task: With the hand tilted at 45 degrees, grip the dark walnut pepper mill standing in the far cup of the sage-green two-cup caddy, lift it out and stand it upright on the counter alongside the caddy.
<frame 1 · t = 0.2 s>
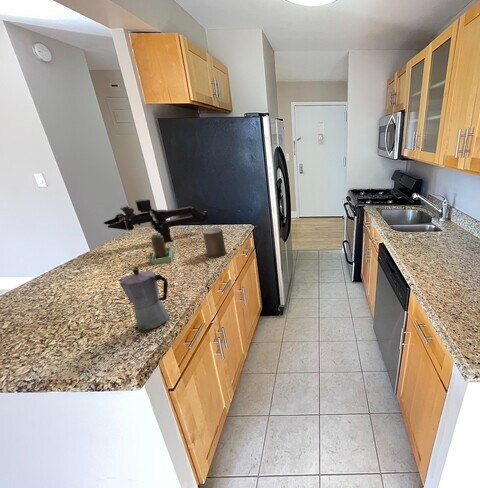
hand: (105, 224, 136), 17 cm above the countertop, tool horizontal, fingers open, 9 cm apart
pepper mill: (162, 259, 134), point 1 cm above the countertop, touching caddy
moka pot: (155, 322, 89), on the countertop
pillar candle: (216, 254, 142), on the countertop
caddy: (163, 257, 137), on the countertop
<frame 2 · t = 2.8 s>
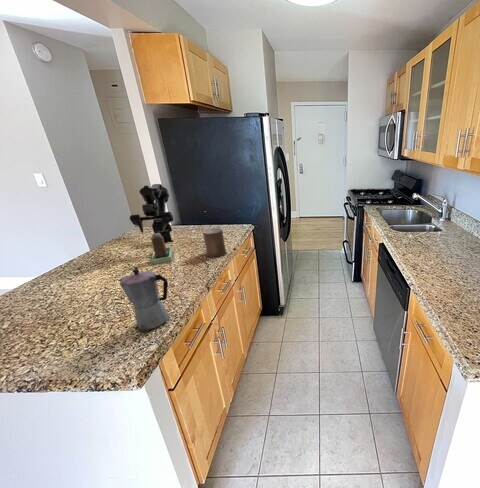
hand: (152, 231, 135), 14 cm above the countertop, tool tilted 50°, fingers open, 9 cm apart
nothing on the countertop moved.
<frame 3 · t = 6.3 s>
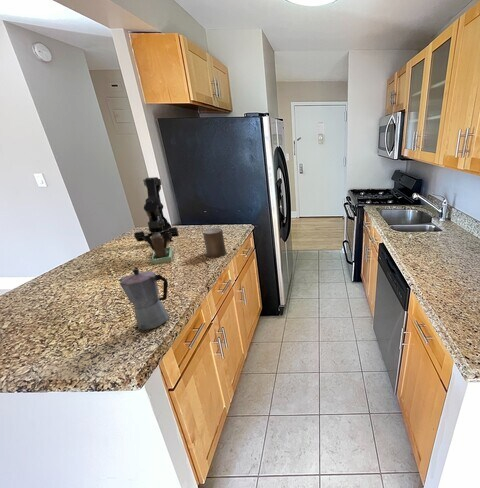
hand: (159, 248, 130), 7 cm above the countertop, tool tilted 45°, fingers closed on pepper mill, 5 cm apart
pepper mill: (162, 259, 134), point 1 cm above the countertop, touching caddy, gripper
everything else where it was.
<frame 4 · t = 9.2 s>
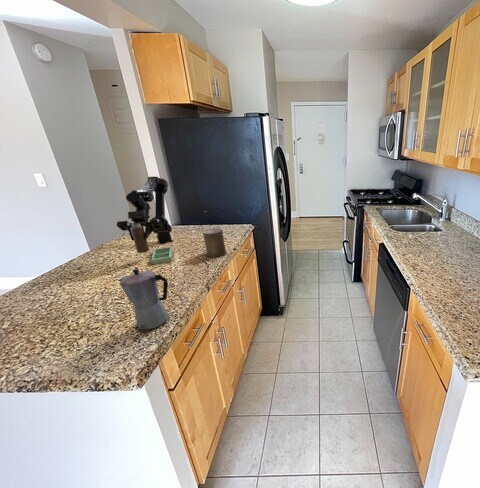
hand: (138, 239, 128), 12 cm above the countertop, tool tilted 45°, fingers closed on pepper mill, 5 cm apart
pepper mill: (143, 250, 131), point 6 cm above the countertop, touching gripper
everything else where it was.
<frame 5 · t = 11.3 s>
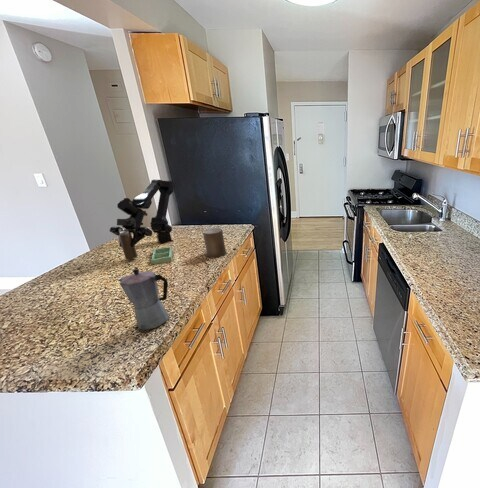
hand: (126, 246, 130), 8 cm above the countertop, tool tilted 45°, fingers closed on pepper mill, 5 cm apart
pepper mill: (131, 257, 134), point 2 cm above the countertop, touching gripper
everything else where it was.
when the fingers open (6 cm above the countertop, at t = 12.4 s): pepper mill stays where it is, on the countertop.
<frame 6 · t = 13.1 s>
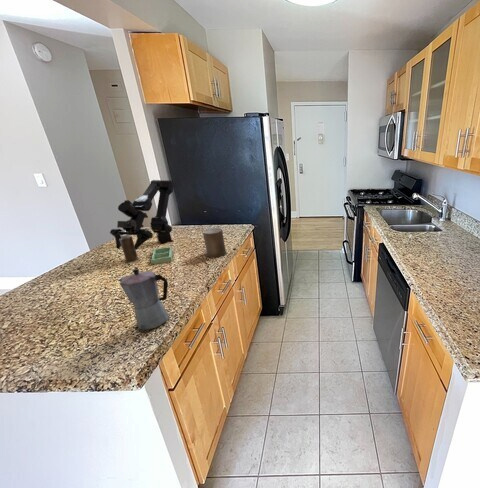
hand: (126, 248, 130), 7 cm above the countertop, tool tilted 45°, fingers open, 9 cm apart
pepper mill: (132, 260, 134), on the countertop
everything else where it was.
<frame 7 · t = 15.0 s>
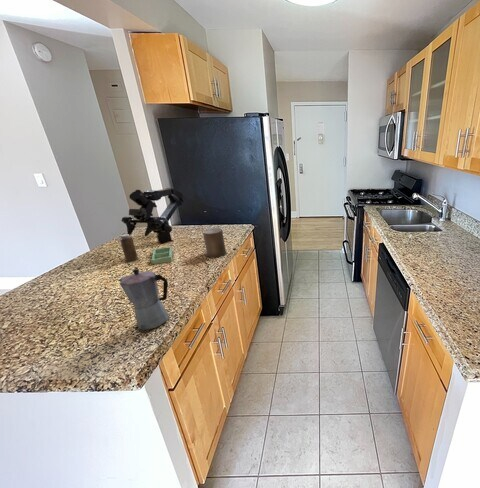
hand: (137, 235, 137), 11 cm above the countertop, tool tilted 45°, fingers open, 9 cm apart
nothing on the countertop moved.
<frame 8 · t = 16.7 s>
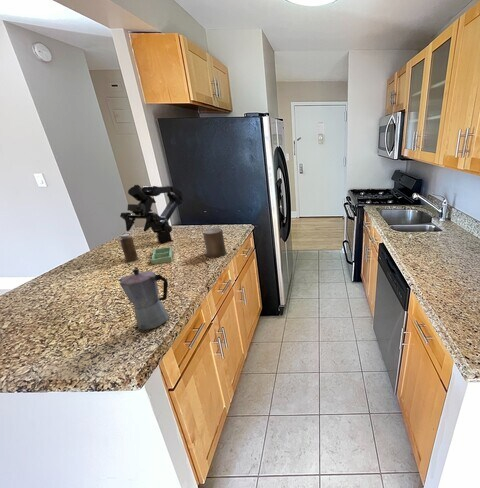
hand: (135, 231, 136), 14 cm above the countertop, tool tilted 45°, fingers open, 9 cm apart
nothing on the countertop moved.
at the end: pepper mill inside the target area (0.1 cm from its centre), on the countertop; pepper mill tilted 0°; the gripper is holding nothing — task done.
